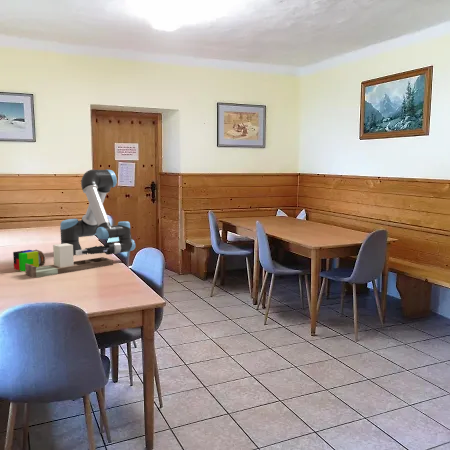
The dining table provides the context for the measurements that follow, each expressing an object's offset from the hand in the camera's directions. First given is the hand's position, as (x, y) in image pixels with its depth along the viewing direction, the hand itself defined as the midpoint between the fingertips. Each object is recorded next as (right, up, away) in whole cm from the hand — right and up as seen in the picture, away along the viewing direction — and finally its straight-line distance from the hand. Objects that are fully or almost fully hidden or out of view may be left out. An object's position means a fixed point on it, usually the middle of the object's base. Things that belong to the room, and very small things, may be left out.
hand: (76, 252), depth 268 cm
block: (-6, -7, -5) cm, 10 cm away
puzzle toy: (-29, -10, 0) cm, 31 cm away
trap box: (-3, -10, -1) cm, 10 cm away
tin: (-28, -8, +13) cm, 32 cm away
